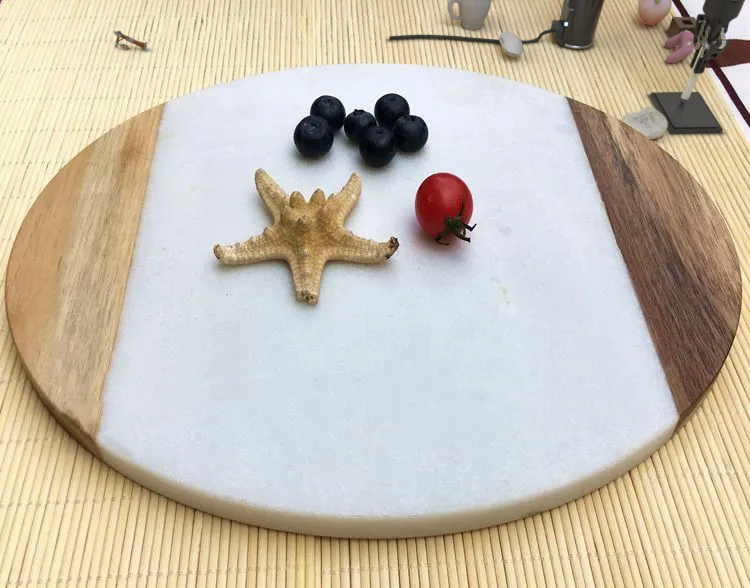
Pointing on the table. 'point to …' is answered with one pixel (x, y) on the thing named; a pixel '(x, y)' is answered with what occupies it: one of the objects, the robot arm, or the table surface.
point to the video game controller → (680, 46)
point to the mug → (470, 12)
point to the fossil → (647, 122)
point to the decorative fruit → (653, 10)
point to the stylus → (690, 81)
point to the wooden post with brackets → (129, 39)
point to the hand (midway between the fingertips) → (696, 69)
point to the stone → (511, 44)
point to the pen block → (681, 25)
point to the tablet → (685, 113)
